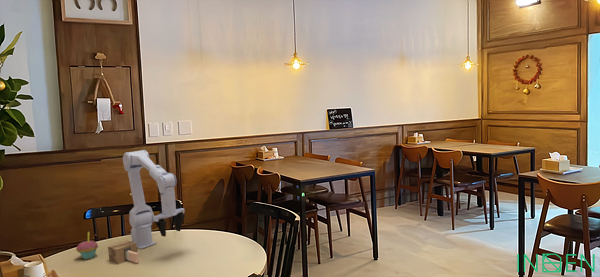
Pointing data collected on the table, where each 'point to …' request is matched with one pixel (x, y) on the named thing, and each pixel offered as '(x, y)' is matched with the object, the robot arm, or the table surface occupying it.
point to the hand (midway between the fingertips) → (171, 233)
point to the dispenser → (120, 251)
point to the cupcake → (87, 248)
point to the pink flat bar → (131, 256)
